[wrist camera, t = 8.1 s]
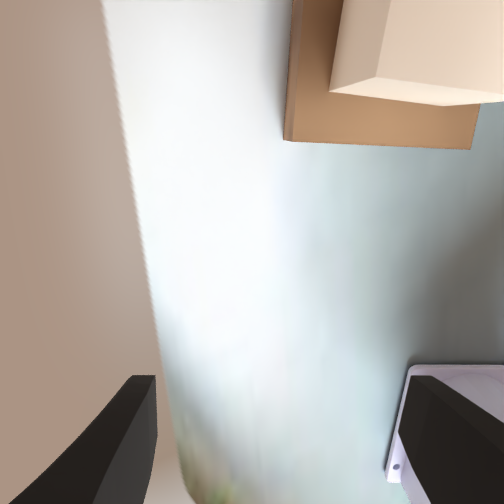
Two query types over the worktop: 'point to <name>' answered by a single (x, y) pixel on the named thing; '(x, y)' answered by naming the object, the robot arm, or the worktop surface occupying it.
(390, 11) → the cube
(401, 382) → the worktop surface
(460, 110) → the base block
